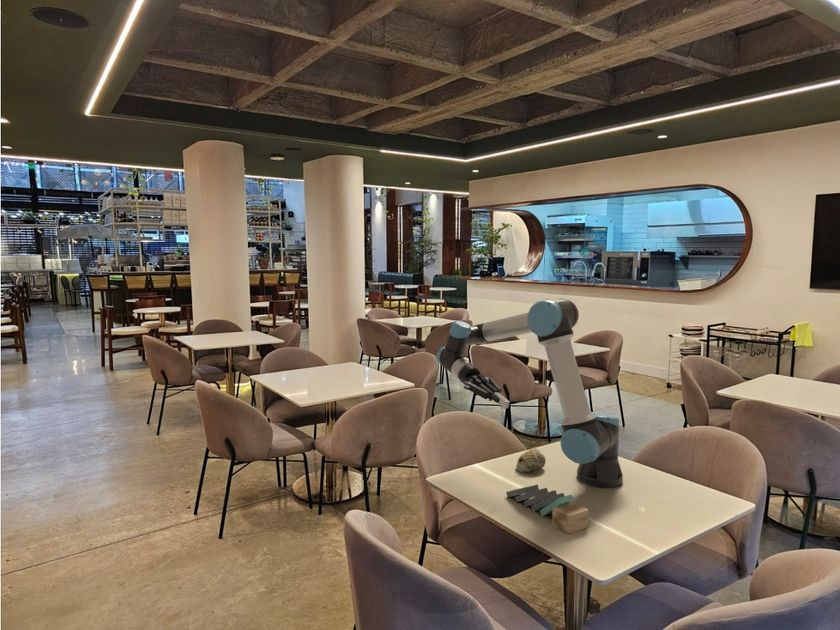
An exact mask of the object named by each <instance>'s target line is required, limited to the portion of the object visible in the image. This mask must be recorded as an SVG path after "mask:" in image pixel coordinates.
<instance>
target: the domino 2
mask: <svg viewBox="0 0 840 630" xmlns="http://www.w3.org/2000/svg"><path fill="white" fill-rule="evenodd" d="M547 492H549V490H548V487H544V488H539V490H536V491H533V492H530V493H526V494H521V495H516V496H514V499H515V501H516V503H519V502H521V501H523V502H524V501H526V500H529V499H531V498H534V497H536V496H539V495H541V494H544V493H547Z"/></svg>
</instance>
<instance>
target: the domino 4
mask: <svg viewBox="0 0 840 630" xmlns="http://www.w3.org/2000/svg"><path fill="white" fill-rule="evenodd" d="M564 496H565V493H564V492H561V493H557V495H554V496H551V497H549V498H547V499H544V500H542V501H540V502H538V503H536V504H534V505H530V508H531V509H532V511H533V512H536V511H540V510H542V509H543V508H545V507H546V506H548V505H549V504H551V503H552V502H554V501H555V500H557V499H558V498H561V497H564Z"/></svg>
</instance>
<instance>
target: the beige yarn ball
mask: <svg viewBox="0 0 840 630" xmlns="http://www.w3.org/2000/svg"><path fill="white" fill-rule="evenodd" d="M545 466H546V457H545V455H544V454H543V453H542V452H541V450H539V449H538V448H537V447H532V448H530V449H528V450H527V451H525V452H524V453H522V454H521V455H520V456H519V457H518V459H517V462H516V470H517V472H519V471H520V472H521V473H523V472H525V473H529V472H530V471H531V470H535V469H537V470H540V469H542V468H544V467H545Z"/></svg>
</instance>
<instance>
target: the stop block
mask: <svg viewBox="0 0 840 630" xmlns="http://www.w3.org/2000/svg"><path fill="white" fill-rule="evenodd" d="M589 513H590V512H589V509H588V508H586V507H584V506H582V505H580V504H578V503H576V502H574V501H571V502H570V503H567V504H564V505H561V506H558V507H555V508H553V513H551V515H552V516H551V517H552V521H551V522H552V523H551V525H552V526H553V527H555V528H557V529H559V530H560V531H562V532H564V533H566V534H568V535H569V534H572V533H574V532H578V531H580V530H583V529H586V528H589V517H590V515H589Z"/></svg>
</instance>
